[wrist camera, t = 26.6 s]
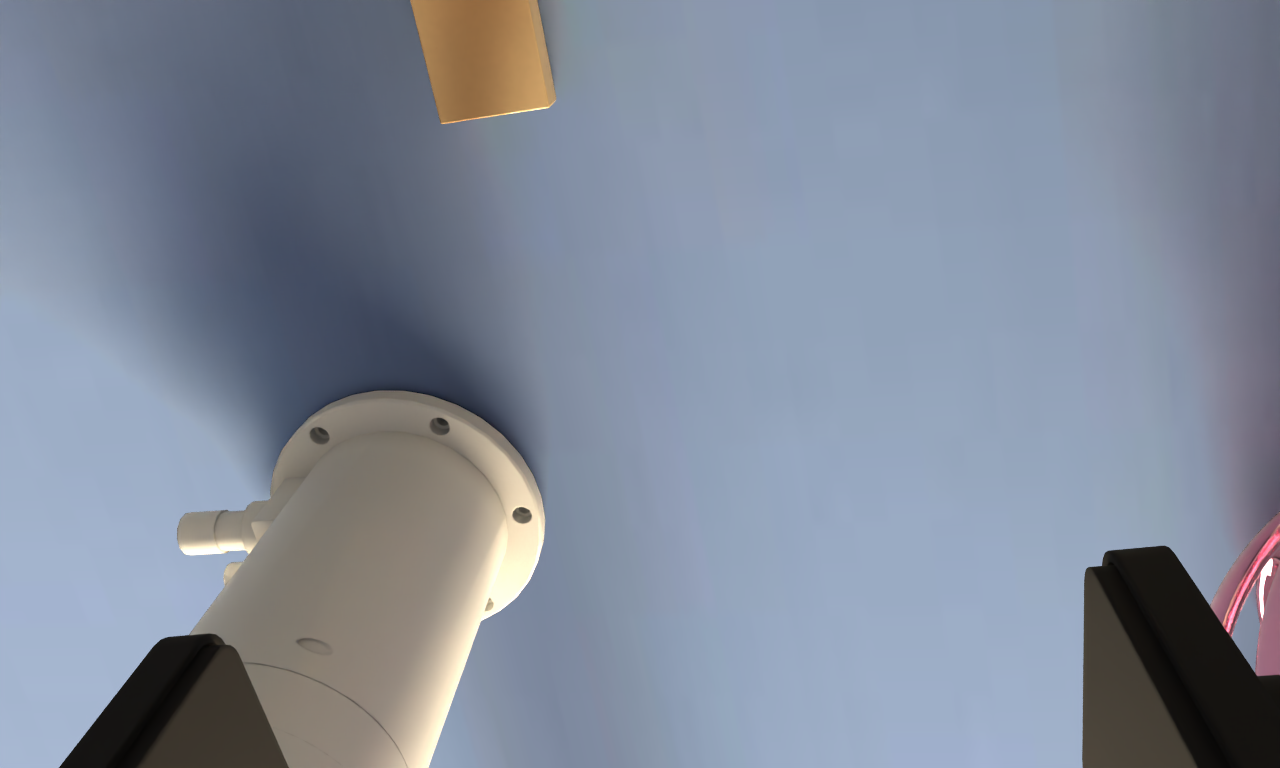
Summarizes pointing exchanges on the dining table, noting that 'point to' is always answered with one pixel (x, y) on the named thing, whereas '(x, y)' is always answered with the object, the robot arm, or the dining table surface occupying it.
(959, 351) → the dining table surface
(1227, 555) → the dining table surface
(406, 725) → the robot arm
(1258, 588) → the pink openwork sphere
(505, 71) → the brush
